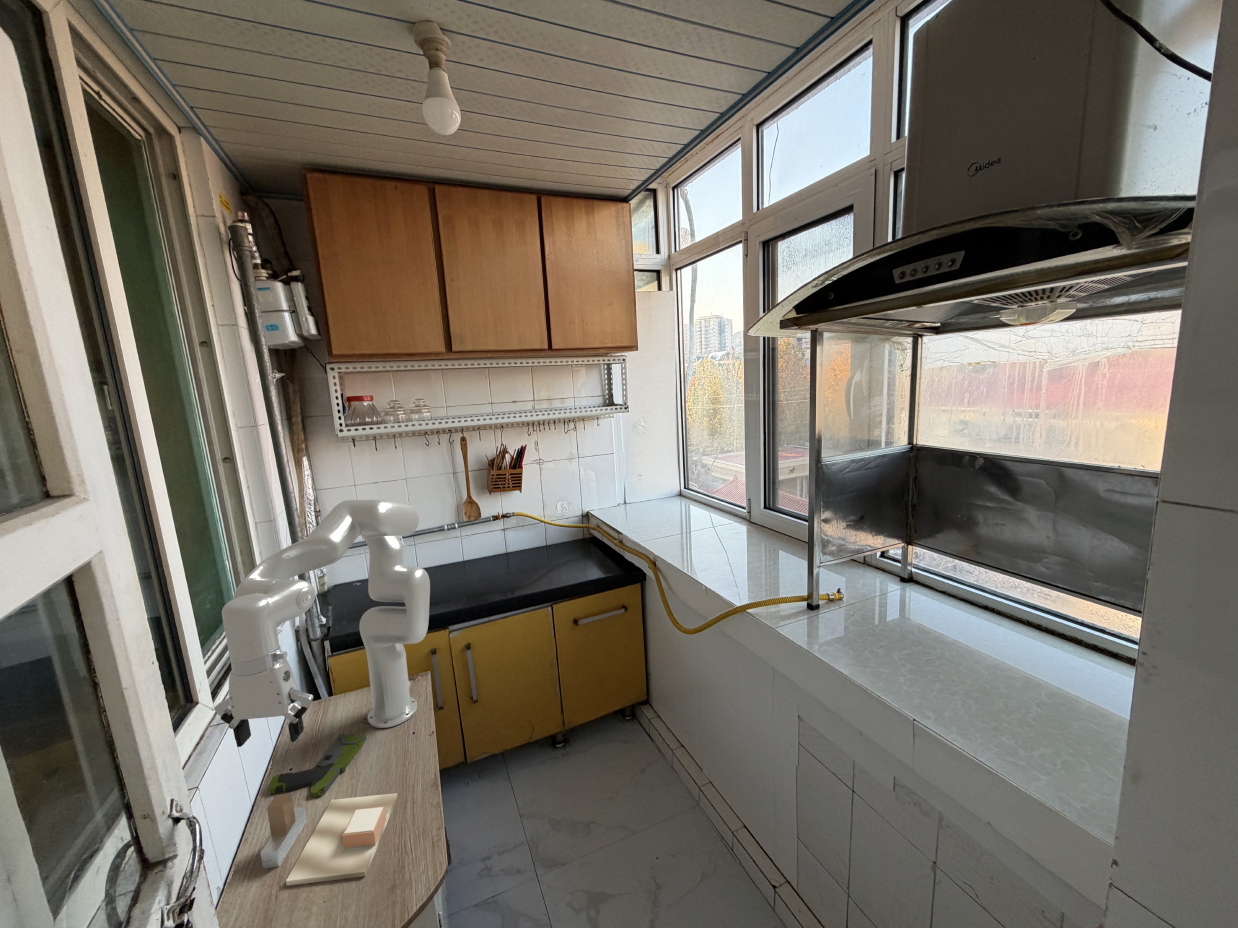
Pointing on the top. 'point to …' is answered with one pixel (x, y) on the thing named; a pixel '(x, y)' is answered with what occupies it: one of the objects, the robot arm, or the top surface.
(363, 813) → the tile
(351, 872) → the board
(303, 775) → the gun
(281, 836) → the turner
